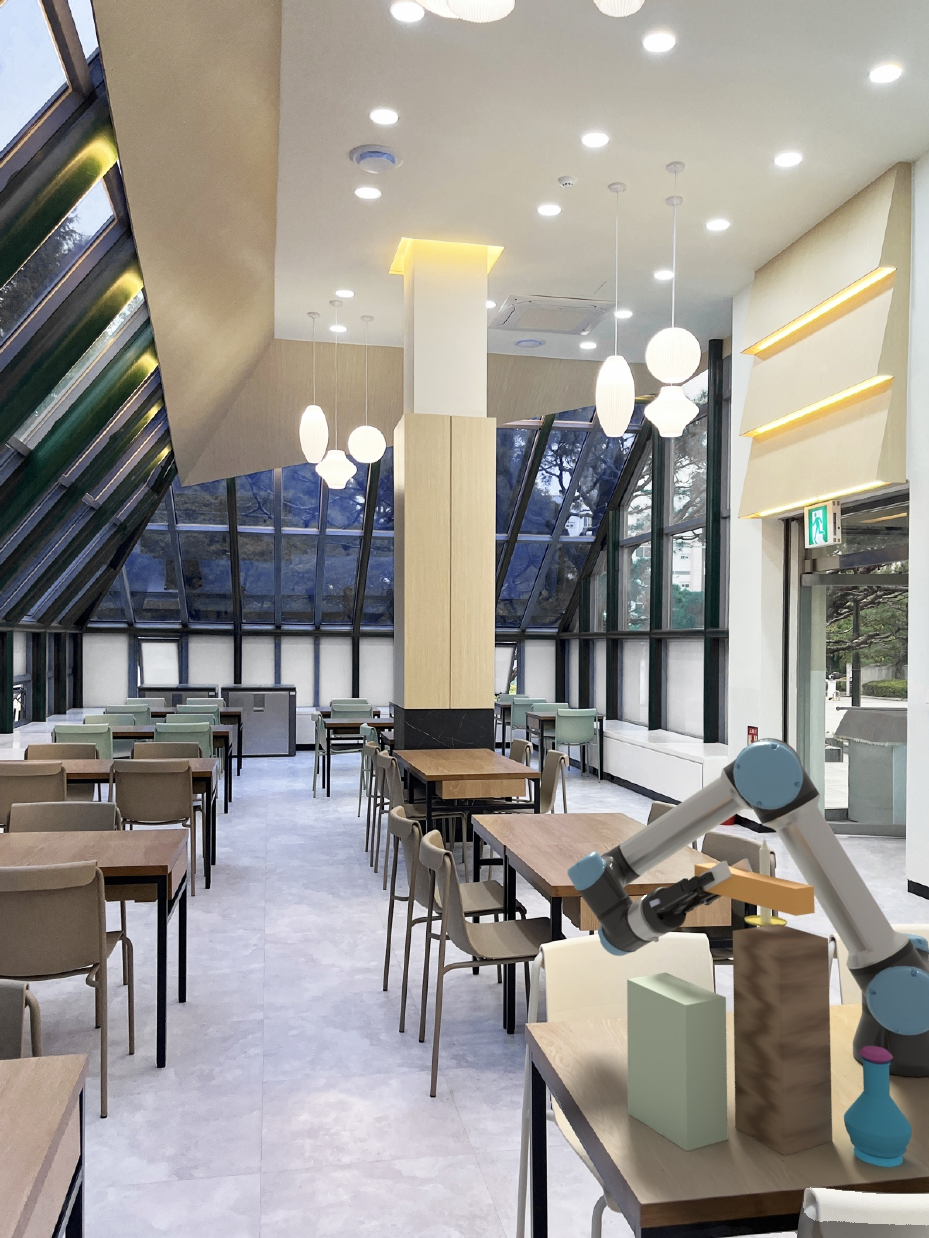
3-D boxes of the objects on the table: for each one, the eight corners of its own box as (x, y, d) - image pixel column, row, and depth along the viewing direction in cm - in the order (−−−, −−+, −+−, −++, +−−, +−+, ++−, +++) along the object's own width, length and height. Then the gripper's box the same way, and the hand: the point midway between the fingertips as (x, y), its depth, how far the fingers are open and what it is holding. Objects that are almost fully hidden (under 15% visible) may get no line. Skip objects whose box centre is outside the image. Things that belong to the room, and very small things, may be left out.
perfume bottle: (912, 1148, 139) (909, 1044, 140) (913, 1177, 131) (910, 1066, 132) (845, 1135, 143) (843, 1034, 144) (842, 1162, 135) (840, 1055, 136)
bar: (694, 888, 160) (694, 864, 160) (712, 885, 162) (711, 862, 162) (796, 915, 140) (795, 888, 141) (814, 912, 142) (814, 886, 143)
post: (735, 1126, 145) (732, 930, 148) (781, 1113, 150) (778, 923, 152) (784, 1155, 136) (781, 946, 139) (832, 1140, 141) (828, 938, 143)
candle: (769, 1032, 186) (766, 842, 189) (731, 1017, 194) (729, 835, 197) (803, 1023, 191) (800, 838, 194) (765, 1009, 199) (762, 832, 202)
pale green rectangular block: (627, 1112, 150) (627, 979, 151) (666, 1102, 154) (665, 972, 155) (687, 1151, 138) (685, 1005, 139) (727, 1139, 141) (725, 997, 143)
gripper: (700, 928, 173) (784, 884, 156) (627, 939, 165) (707, 894, 148) (686, 888, 176) (766, 842, 160) (614, 897, 168) (690, 849, 152)
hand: (738, 867), depth 154 cm, fingers closed on bar, 4 cm apart
